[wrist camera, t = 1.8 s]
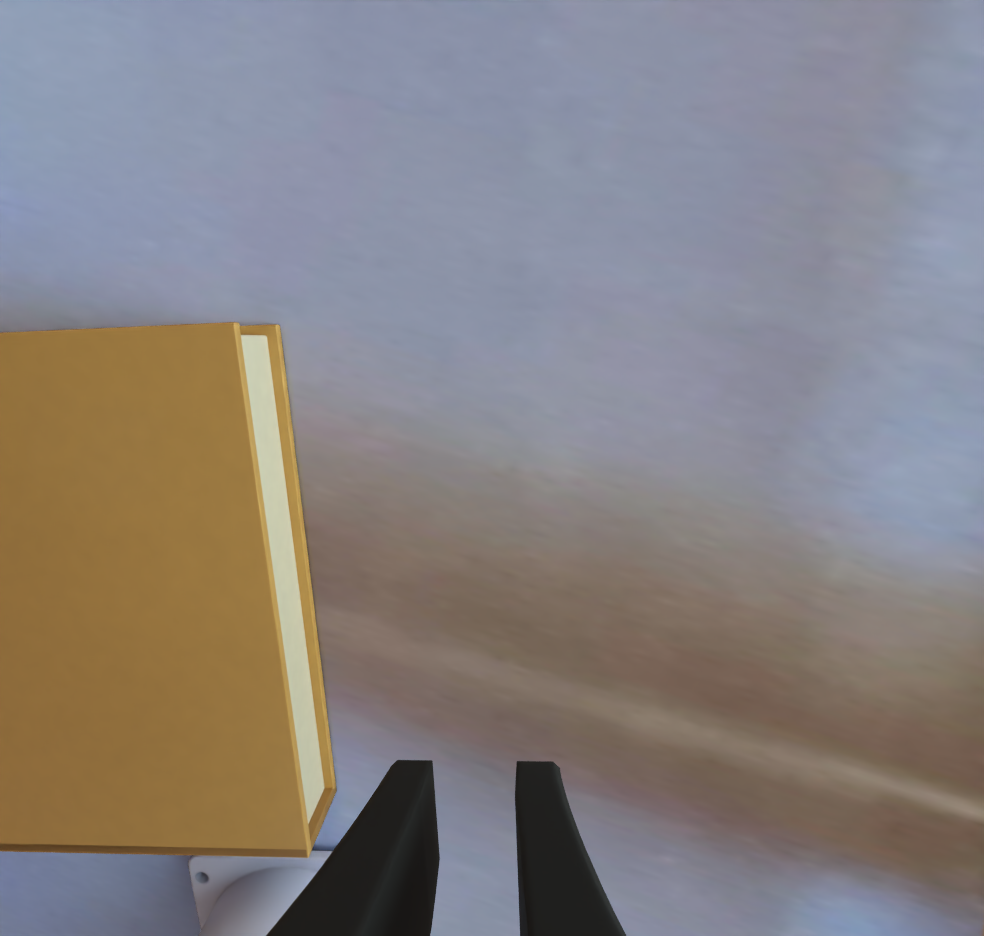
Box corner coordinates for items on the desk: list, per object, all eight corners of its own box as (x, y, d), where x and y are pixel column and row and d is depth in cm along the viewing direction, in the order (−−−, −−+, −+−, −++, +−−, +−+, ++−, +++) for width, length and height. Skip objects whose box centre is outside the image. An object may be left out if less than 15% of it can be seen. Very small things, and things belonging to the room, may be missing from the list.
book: (336, 790, 21) (308, 858, 18) (36, 786, 22) (-34, 850, 19) (280, 324, 17) (233, 321, 14) (-83, 340, 18) (-191, 341, 15)
